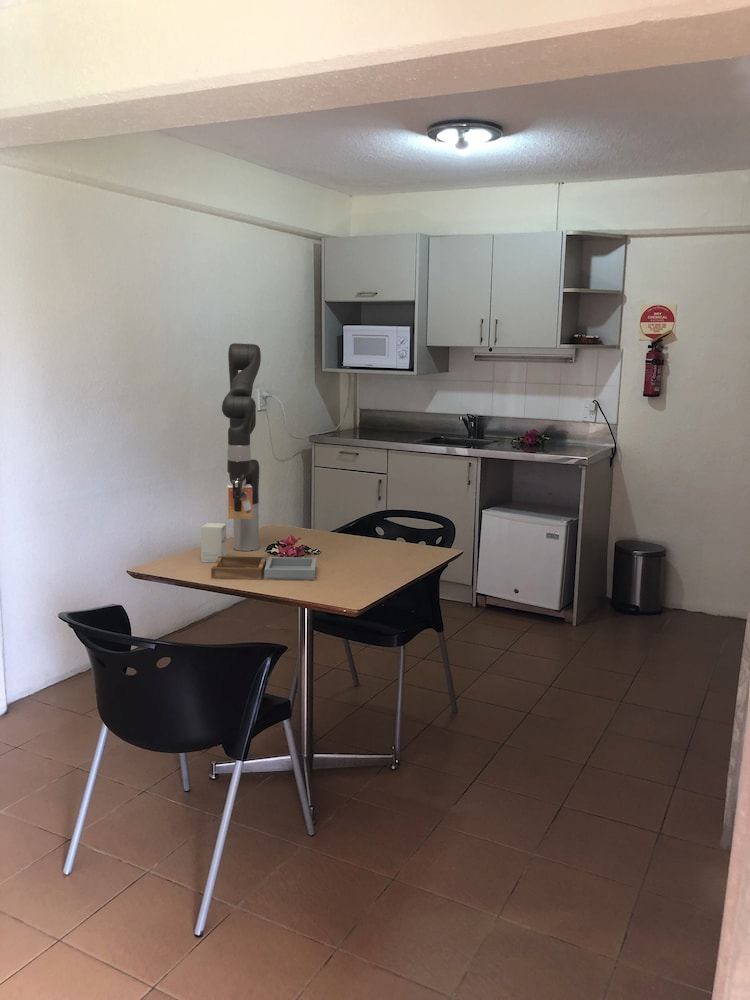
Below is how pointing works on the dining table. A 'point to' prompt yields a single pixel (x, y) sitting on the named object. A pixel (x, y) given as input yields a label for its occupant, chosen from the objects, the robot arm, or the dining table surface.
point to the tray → (290, 568)
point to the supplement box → (213, 541)
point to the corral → (250, 573)
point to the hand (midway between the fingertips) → (239, 509)
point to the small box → (245, 503)
